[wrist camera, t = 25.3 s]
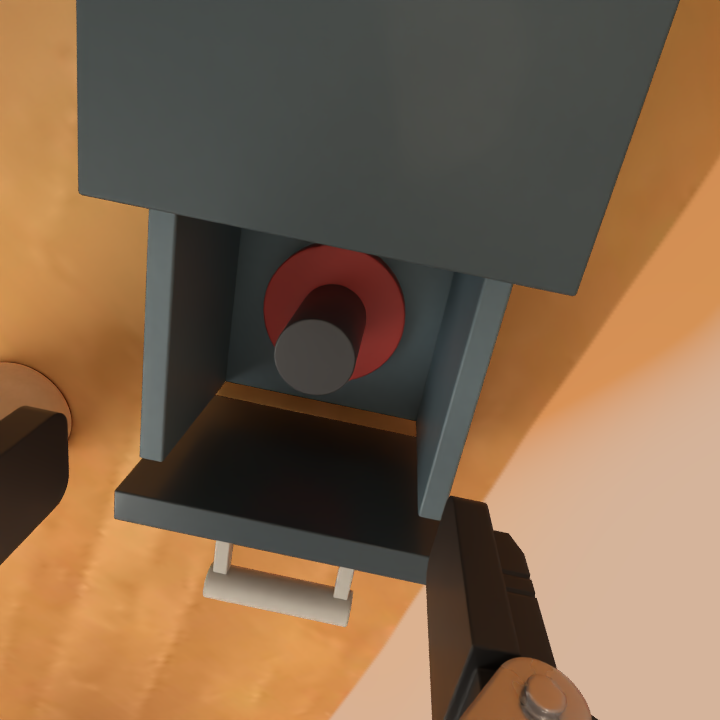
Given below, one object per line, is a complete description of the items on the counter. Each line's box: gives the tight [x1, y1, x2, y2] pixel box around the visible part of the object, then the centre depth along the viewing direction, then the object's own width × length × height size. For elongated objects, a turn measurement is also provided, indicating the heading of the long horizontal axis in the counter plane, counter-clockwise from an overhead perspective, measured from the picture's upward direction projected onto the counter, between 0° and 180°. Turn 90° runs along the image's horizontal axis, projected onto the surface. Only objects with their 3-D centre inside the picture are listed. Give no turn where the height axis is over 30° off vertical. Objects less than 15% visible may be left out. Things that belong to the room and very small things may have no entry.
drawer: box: [114, 209, 513, 627], centre depth 20 cm, size 22×11×8 cm, turn 169°
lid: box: [263, 243, 405, 395], centre depth 19 cm, size 6×6×5 cm
